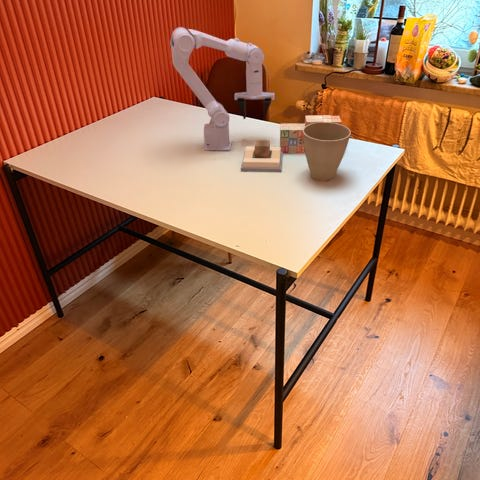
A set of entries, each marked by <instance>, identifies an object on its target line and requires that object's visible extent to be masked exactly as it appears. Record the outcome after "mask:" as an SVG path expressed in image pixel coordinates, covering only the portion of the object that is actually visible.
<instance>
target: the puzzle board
mask: <svg viewBox="0 0 480 480" xmlns="http://www.w3.org/2000/svg"><path fill="white" fill-rule="evenodd" d="M243 152H244V153H243V157H242V161H241V167H240V171H241V172H252V173H253V172H256V173H257V172H259V173H260V172H262V173H263V172H265V173H282V169H283V167H282V166H283V155H284V153H283V151H281V147H280V146H270V158H255V146H249V145H248V146H246V147H245V150H244V151H243Z"/></svg>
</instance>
